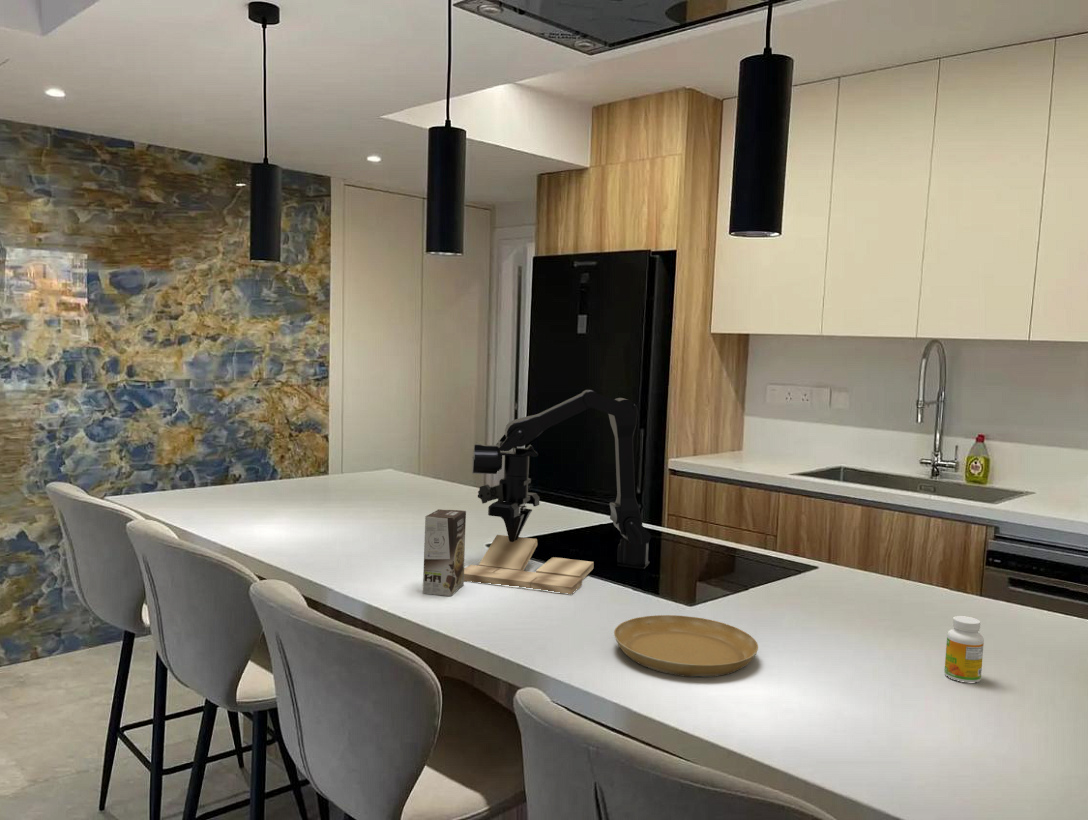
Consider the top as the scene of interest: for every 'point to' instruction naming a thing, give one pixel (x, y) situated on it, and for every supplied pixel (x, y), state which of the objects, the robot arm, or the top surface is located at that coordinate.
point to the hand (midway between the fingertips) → (513, 540)
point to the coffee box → (444, 552)
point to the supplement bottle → (964, 650)
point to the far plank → (509, 553)
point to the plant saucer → (685, 645)
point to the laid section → (522, 579)
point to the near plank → (566, 567)
